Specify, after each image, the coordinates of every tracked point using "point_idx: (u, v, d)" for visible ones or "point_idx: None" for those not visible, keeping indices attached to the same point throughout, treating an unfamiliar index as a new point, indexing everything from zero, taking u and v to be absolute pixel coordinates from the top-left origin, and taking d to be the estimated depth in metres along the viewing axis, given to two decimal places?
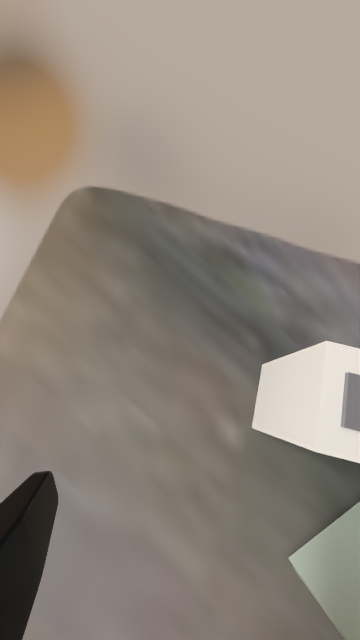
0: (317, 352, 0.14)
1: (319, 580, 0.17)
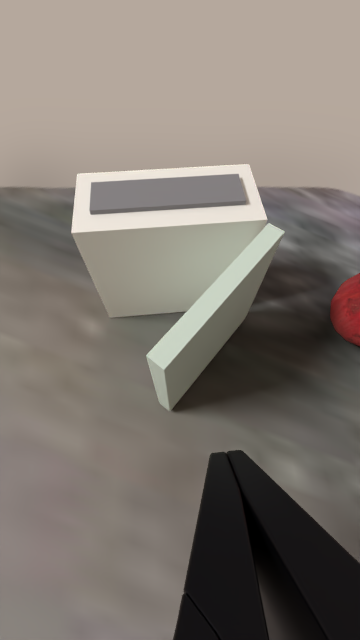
0: None
1: None
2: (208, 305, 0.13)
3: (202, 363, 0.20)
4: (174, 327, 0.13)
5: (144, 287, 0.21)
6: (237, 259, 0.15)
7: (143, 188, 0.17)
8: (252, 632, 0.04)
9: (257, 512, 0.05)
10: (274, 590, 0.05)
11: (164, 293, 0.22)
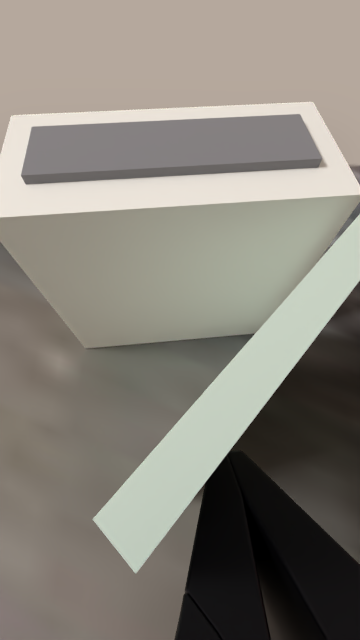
0: None
1: None
2: (256, 378, 0.06)
3: None
4: (172, 434, 0.05)
5: (133, 309, 0.13)
6: (315, 269, 0.07)
7: (127, 137, 0.09)
8: (254, 631, 0.04)
9: (256, 512, 0.05)
10: (273, 590, 0.05)
11: (165, 316, 0.14)
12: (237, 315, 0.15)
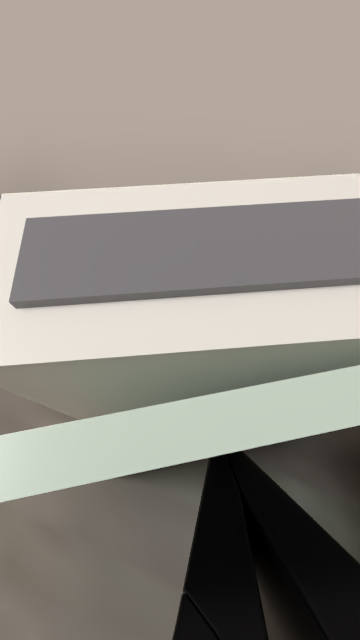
0: None
1: None
2: (174, 436, 0.05)
3: None
4: (62, 428, 0.05)
5: (151, 405, 0.11)
6: (334, 374, 0.05)
7: (152, 235, 0.07)
8: (251, 632, 0.04)
9: (257, 512, 0.05)
10: (274, 590, 0.05)
11: None
12: None
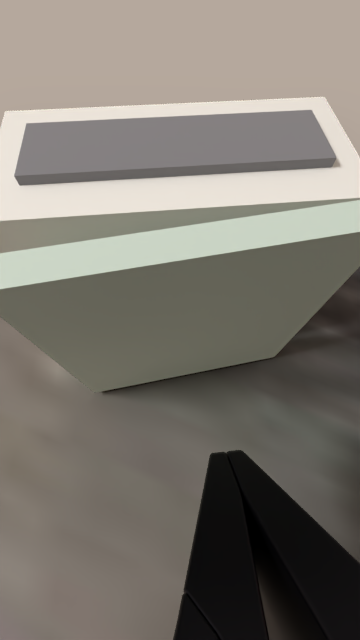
0: None
1: None
2: (140, 251, 0.07)
3: (158, 364, 0.13)
4: (57, 247, 0.07)
5: None
6: (262, 216, 0.07)
7: (128, 134, 0.09)
8: (252, 632, 0.04)
9: (257, 512, 0.05)
10: (274, 590, 0.05)
11: None
12: None
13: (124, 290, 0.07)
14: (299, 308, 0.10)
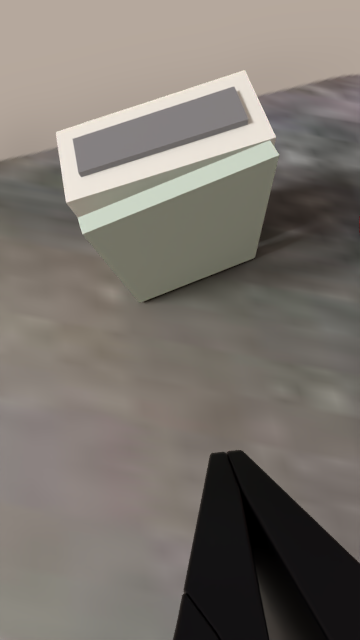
0: None
1: None
2: (150, 198, 0.14)
3: (175, 272, 0.20)
4: (111, 205, 0.14)
5: None
6: (208, 166, 0.14)
7: (129, 132, 0.15)
8: (252, 632, 0.04)
9: (257, 512, 0.05)
10: (274, 590, 0.05)
11: None
12: None
13: (147, 220, 0.14)
14: (251, 215, 0.17)
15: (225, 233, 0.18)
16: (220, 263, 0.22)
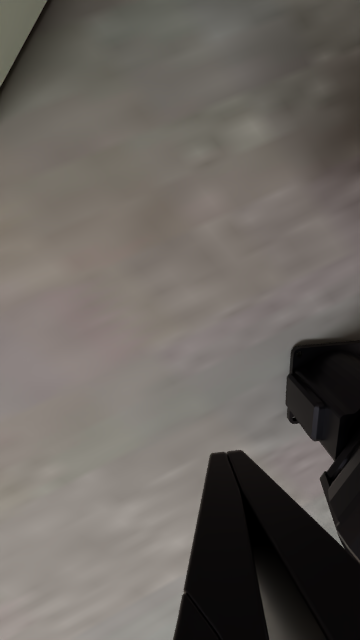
0: None
1: None
2: None
3: None
4: None
5: None
6: None
7: None
8: (252, 632, 0.04)
9: (257, 512, 0.05)
10: (274, 590, 0.05)
11: None
12: None
13: None
14: None
15: None
16: None
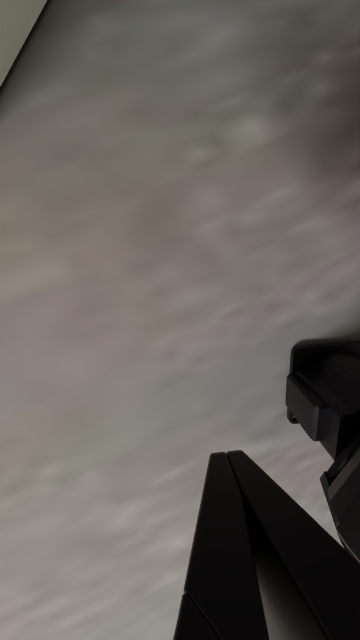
0: None
1: None
2: None
3: None
4: None
5: None
6: None
7: None
8: (252, 631, 0.04)
9: (257, 512, 0.05)
10: (274, 590, 0.05)
11: None
12: None
13: None
14: None
15: None
16: None
